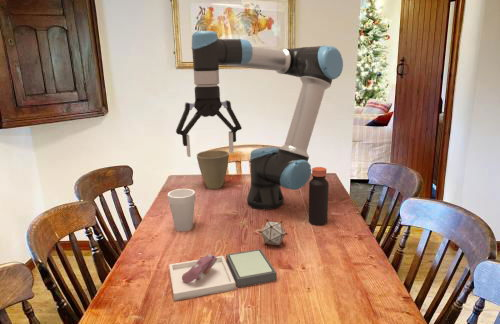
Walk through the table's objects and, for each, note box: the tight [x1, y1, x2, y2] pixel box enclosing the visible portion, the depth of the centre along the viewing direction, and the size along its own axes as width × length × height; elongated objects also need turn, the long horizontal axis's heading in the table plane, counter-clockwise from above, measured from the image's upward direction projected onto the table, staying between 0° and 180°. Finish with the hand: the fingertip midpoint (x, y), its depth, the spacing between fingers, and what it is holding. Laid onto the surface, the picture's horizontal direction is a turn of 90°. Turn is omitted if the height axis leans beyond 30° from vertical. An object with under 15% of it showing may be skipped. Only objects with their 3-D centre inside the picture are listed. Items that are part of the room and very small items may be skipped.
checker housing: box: [225, 248, 277, 289], centre depth 105 cm, size 11×14×2 cm
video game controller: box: [182, 253, 217, 283], centre depth 102 cm, size 10×5×7 cm, turn 150°
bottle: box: [308, 166, 330, 226], centre depth 134 cm, size 7×7×20 cm
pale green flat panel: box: [230, 251, 273, 278], centre depth 105 cm, size 9×12×1 cm
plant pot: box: [196, 149, 230, 190], centre depth 175 cm, size 15×15×16 cm
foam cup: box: [167, 188, 196, 232], centre depth 132 cm, size 10×9×13 cm
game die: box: [258, 218, 288, 248], centre depth 120 cm, size 9×8×10 cm
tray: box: [168, 255, 237, 302], centre depth 102 cm, size 16×15×2 cm
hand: (210, 154), depth 119 cm, fingers open, 13 cm apart
